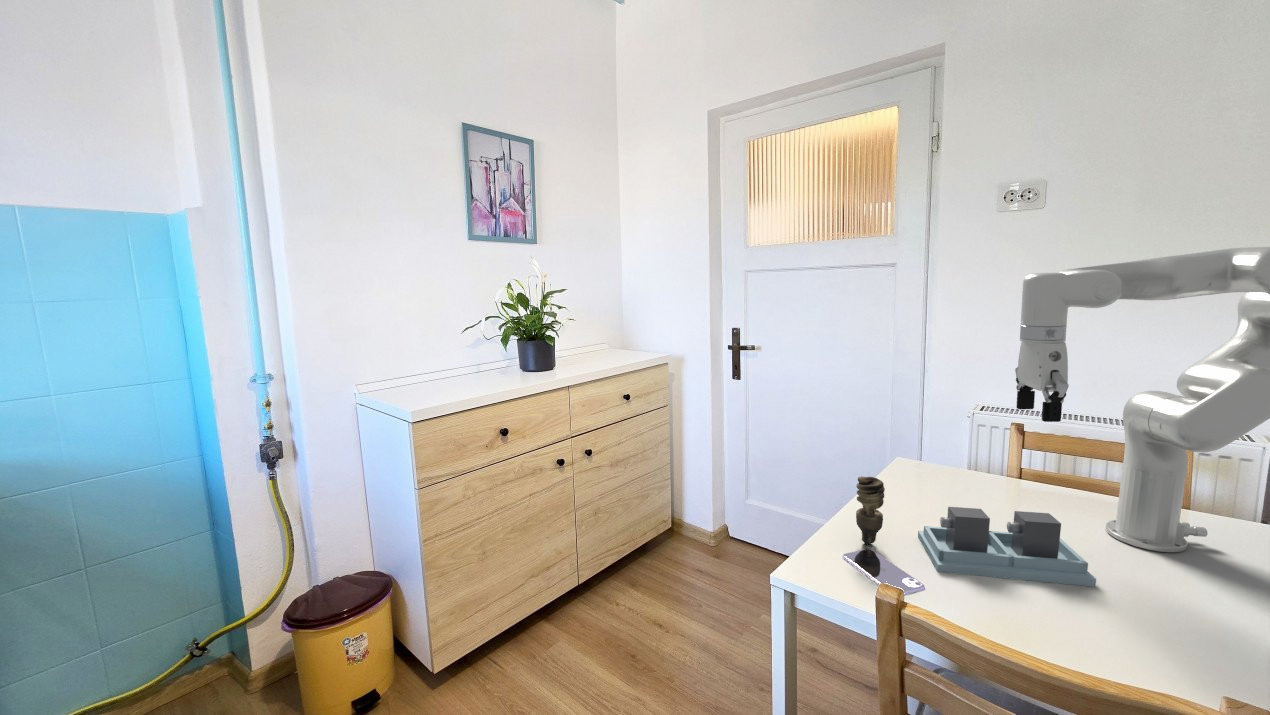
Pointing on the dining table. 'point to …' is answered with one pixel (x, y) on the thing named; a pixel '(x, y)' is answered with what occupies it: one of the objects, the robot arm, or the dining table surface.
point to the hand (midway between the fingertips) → (1037, 414)
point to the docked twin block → (966, 529)
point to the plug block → (1035, 534)
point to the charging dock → (1005, 560)
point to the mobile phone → (883, 570)
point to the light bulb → (869, 507)
